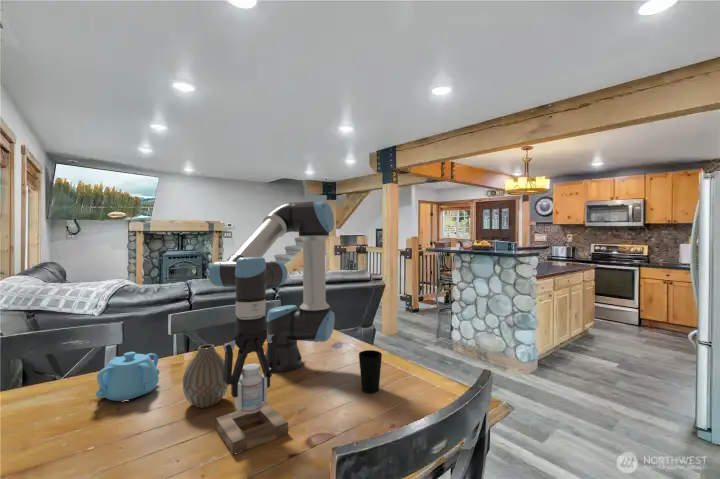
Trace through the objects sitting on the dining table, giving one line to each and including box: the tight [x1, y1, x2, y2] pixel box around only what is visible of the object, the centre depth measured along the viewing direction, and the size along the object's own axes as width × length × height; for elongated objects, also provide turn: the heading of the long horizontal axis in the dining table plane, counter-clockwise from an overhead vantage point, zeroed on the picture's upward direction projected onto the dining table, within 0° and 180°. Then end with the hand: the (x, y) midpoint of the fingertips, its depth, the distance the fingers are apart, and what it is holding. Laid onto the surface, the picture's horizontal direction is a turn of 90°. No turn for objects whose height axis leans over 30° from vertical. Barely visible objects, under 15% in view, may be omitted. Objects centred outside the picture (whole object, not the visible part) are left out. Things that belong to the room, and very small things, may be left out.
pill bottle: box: [239, 363, 264, 414], centre depth 89 cm, size 6×6×11 cm
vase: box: [182, 343, 229, 409], centre depth 105 cm, size 13×13×18 cm
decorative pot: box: [95, 351, 160, 402], centre depth 111 cm, size 16×16×14 cm
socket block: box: [215, 401, 289, 455], centre depth 89 cm, size 14×14×3 cm
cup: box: [358, 349, 383, 395], centre depth 113 cm, size 8×8×12 cm
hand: (251, 404), depth 89 cm, fingers closed on pill bottle, 6 cm apart
